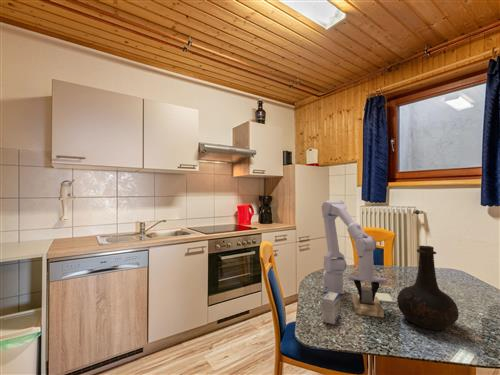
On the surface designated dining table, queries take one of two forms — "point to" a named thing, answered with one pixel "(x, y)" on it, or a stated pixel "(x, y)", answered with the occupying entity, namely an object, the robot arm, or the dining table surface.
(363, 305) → the rail plate
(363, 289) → the square peg
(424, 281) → the glass bottle
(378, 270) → the dining table surface
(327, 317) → the medicine box
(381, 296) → the pad
